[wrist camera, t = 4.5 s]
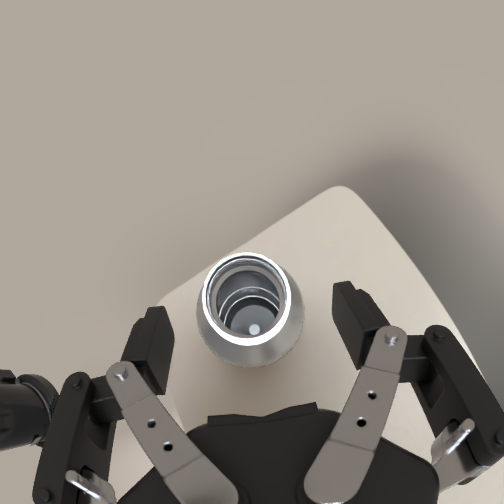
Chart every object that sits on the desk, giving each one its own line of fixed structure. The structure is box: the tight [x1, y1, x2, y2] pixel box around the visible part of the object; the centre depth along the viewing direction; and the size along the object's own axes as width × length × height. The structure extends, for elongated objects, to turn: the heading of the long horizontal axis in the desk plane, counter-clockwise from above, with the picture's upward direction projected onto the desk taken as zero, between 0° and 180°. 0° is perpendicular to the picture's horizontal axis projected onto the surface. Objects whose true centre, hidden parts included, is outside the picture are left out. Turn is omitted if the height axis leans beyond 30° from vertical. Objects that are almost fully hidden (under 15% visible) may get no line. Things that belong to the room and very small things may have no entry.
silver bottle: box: [196, 252, 305, 368], centre depth 20 cm, size 6×7×20 cm
